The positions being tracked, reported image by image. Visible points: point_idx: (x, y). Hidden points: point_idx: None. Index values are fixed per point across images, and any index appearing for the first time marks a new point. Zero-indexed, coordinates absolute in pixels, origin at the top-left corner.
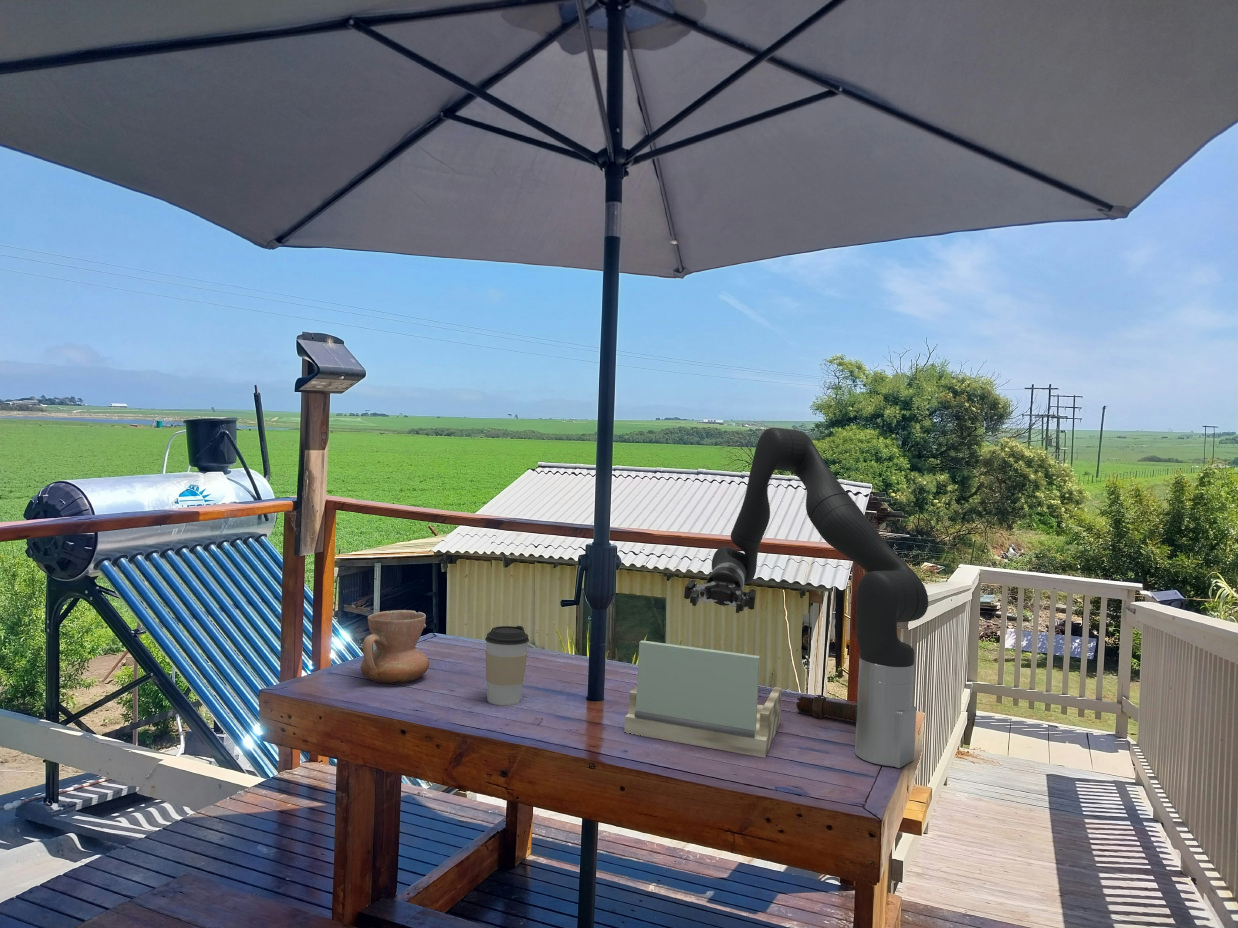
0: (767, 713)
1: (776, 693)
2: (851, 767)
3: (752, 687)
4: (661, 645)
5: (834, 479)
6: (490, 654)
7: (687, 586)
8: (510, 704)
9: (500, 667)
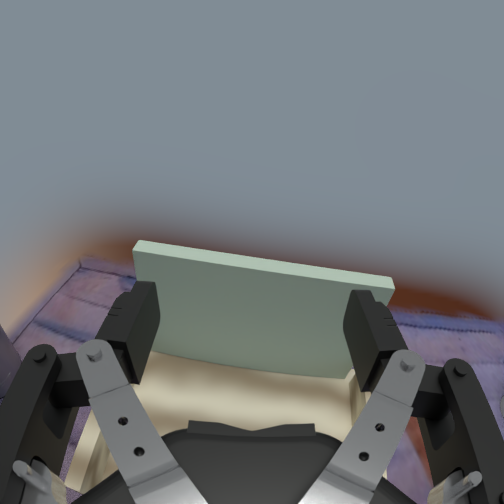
0: None
1: (82, 445)
2: (44, 340)
3: None
4: (345, 271)
5: None
6: None
7: (459, 364)
8: (501, 400)
9: None
